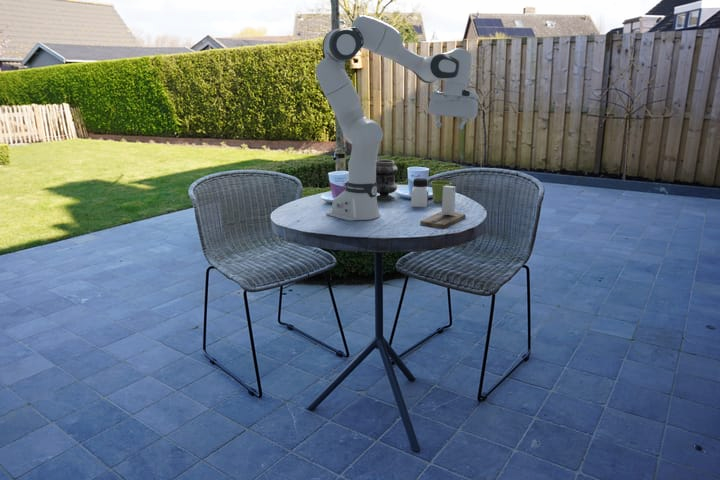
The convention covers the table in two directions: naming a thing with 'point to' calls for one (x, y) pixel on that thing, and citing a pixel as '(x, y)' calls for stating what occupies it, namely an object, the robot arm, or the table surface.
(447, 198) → the white upright block
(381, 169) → the dark footed urn
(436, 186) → the plant pot
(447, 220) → the slider board
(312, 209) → the table surface
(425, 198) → the medicine bottle
